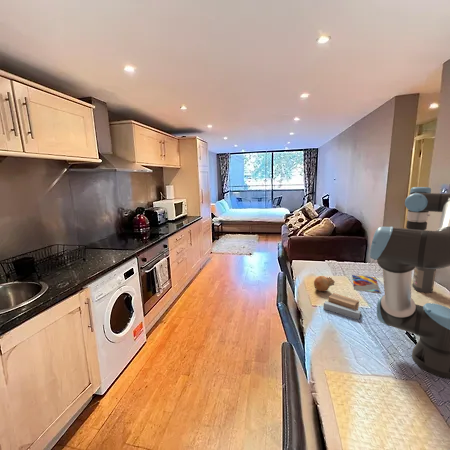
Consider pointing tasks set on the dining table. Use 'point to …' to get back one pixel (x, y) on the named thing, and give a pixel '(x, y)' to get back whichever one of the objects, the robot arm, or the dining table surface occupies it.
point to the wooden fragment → (331, 281)
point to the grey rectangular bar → (342, 310)
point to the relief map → (365, 284)
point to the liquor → (423, 279)
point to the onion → (321, 283)
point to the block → (343, 301)
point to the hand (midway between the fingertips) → (411, 268)
